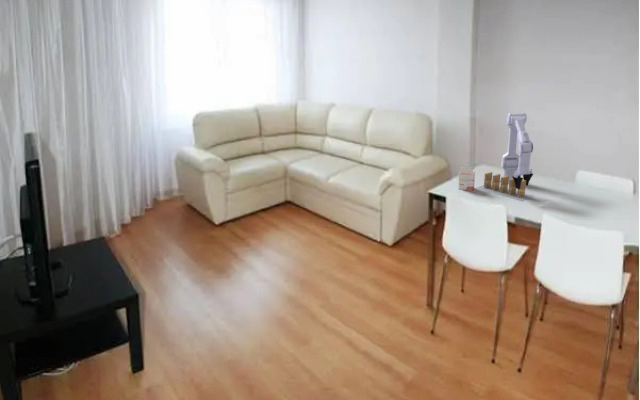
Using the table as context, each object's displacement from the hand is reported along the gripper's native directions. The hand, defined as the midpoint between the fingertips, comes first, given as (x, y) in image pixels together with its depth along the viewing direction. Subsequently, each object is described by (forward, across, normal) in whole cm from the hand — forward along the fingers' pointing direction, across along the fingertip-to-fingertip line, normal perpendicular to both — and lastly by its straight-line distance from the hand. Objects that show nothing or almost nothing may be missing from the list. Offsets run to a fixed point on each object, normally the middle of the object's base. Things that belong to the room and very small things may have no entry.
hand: (521, 187), depth 268 cm
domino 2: (+6, 0, +16) cm, 17 cm away
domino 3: (+6, 0, +11) cm, 12 cm away
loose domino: (+6, 0, 0) cm, 6 cm away
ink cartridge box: (+6, -11, +29) cm, 32 cm away
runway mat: (+6, -1, +10) cm, 12 cm away
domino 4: (+6, 0, +5) cm, 8 cm away
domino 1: (+6, 0, +22) cm, 23 cm away
